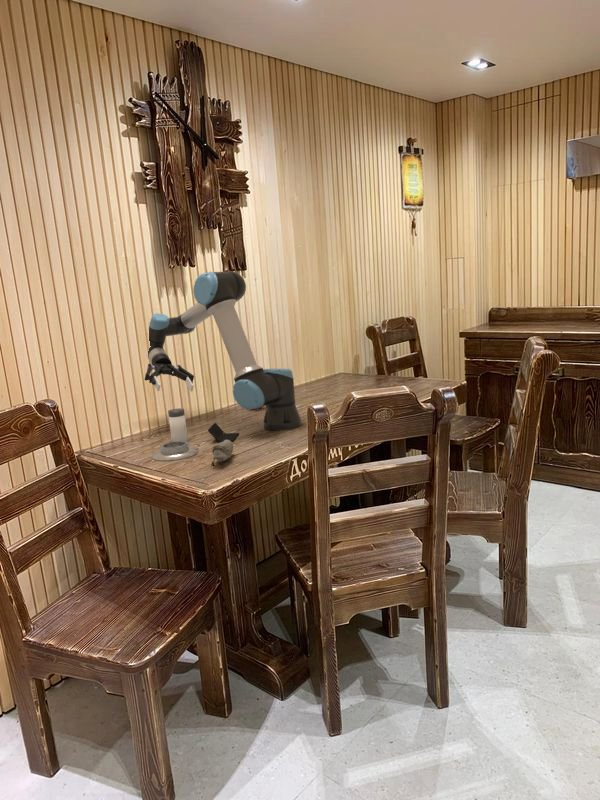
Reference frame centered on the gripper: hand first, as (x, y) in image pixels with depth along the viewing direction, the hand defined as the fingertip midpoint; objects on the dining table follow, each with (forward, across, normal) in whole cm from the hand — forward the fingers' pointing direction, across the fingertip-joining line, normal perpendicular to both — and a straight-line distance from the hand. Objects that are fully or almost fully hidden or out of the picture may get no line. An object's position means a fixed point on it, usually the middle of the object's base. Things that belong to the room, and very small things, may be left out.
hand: (175, 388), depth 235 cm
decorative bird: (+51, +1, +4) cm, 51 cm away
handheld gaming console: (+26, -12, -6) cm, 29 cm away
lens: (+16, +1, -13) cm, 21 cm away
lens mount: (+32, +9, -7) cm, 34 cm away
